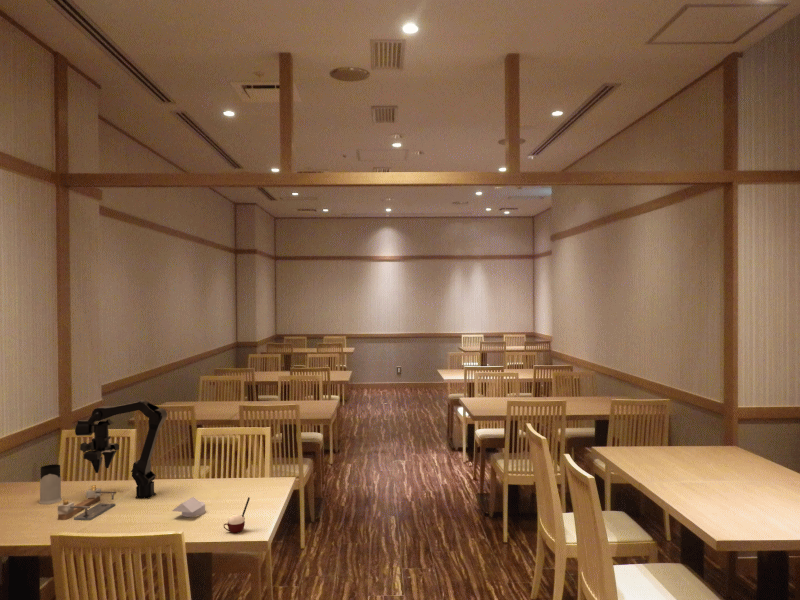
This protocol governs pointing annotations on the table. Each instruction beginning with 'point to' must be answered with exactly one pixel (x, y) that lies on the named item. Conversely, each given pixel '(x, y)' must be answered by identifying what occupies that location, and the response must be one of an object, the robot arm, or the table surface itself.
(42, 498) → the glass holder
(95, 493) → the carriage
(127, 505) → the table surface
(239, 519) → the cocoa
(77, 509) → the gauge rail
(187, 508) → the wedge on round base
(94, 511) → the flange plate
